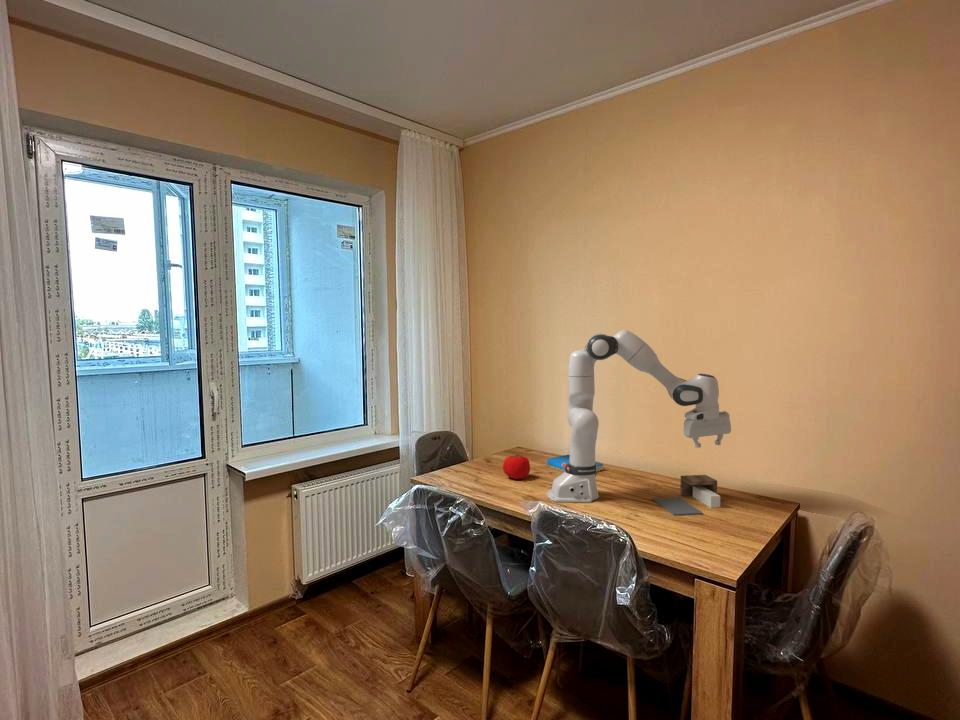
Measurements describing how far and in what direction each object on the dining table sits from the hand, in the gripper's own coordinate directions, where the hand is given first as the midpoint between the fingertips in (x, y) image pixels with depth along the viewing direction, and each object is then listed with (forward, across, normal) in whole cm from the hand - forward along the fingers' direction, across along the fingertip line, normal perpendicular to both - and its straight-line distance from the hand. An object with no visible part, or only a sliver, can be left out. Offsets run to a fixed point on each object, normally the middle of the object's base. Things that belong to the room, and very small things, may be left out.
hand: (707, 446), depth 206 cm
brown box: (+24, 0, -7) cm, 25 cm away
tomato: (+22, +67, -55) cm, 89 cm away
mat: (+23, +16, 0) cm, 28 cm away
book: (+24, +32, -65) cm, 76 cm away
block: (+24, 0, -2) cm, 25 cm away
